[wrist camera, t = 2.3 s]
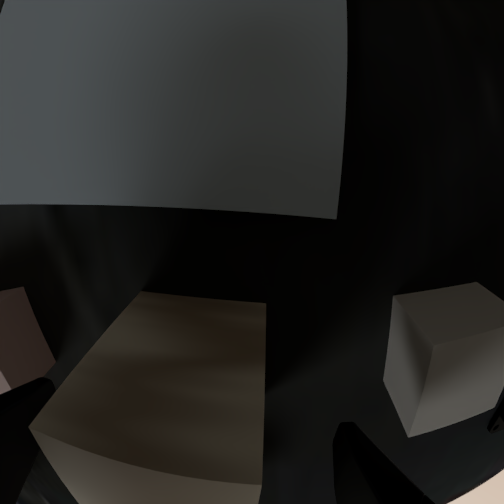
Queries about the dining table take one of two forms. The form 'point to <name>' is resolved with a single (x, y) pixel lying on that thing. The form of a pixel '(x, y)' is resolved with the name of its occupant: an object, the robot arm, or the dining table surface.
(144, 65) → the blue board
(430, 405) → the off-white block
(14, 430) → the robot arm
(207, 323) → the birch block
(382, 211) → the dining table surface
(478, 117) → the dining table surface
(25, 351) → the pink block
